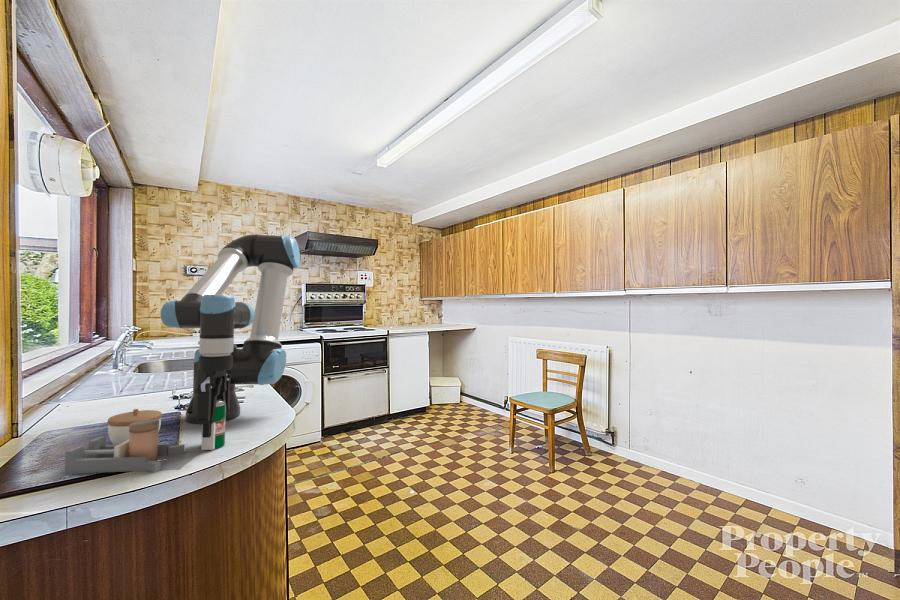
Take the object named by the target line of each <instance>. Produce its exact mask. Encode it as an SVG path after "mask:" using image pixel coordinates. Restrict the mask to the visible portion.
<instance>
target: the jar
mask: <svg viewBox="0 0 900 600" xmlns="http://www.w3.org/2000/svg"><path fill="white" fill-rule="evenodd" d="M158 429H159V420H157V419H148V420H140V421H136V422H133V423H131V424H129V457H145V456H148V460H152V461H157V457H158V443H159V432H158ZM159 430H160V429H159Z"/></svg>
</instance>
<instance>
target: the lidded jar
mask: <svg viewBox="0 0 900 600" xmlns="http://www.w3.org/2000/svg"><path fill="white" fill-rule="evenodd" d="M162 415H163V413H162V411H160V410H155V409H154V410H151V409H150V410H148V409H143V410H139V409H138V408H134V409H133V411H127V412H124V413H119V414H115V415H113V416H111V417H109V418H108V419H107V434H108V437H109V441H110V442H111V443H112V445H115V444H121V443H123V442H125V441H127V440H129V424H131V423H133V422H136V421H140V420H148V419H157V420H159V429H158V433H159V432H160V429H161V425H162Z"/></svg>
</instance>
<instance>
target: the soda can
mask: <svg viewBox="0 0 900 600" xmlns="http://www.w3.org/2000/svg"><path fill="white" fill-rule="evenodd" d="M224 401H225V400H223V399H217V401H216V408H215V415H214V422H215V449H214V450H218V449H220V448H222V447H224V446H225V445H226V421H227V420H226V403H225V402H224ZM214 422H213V423H214Z"/></svg>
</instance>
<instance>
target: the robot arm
mask: <svg viewBox="0 0 900 600" xmlns="http://www.w3.org/2000/svg"><path fill="white" fill-rule="evenodd" d="M300 253H301V252H300V247H299V245H298V241H297V240H296V238H295V237H293V236H291V235H290V236H288V235H272V234H271V235H269V234H266V235H265V234H253V233H252V234H246V235H244V236H240V237H238V238H235V239H234V240H232V241H231V242H230V241H229V243H227V244H226V245H224V246H223V248H221V249H220V251H219V252H218V254H217V259H216V260H215V262H213V263H212V265H210V267H209V268H208V269H207V270H206V271H205V272H204V274H203V275H202V276H201V277H200V278H199V279H198V280H197V281H196V283H195V284H193V286H192V287H191V288H190V289H189V291H188V292H187V293H185V295H184V296H183V297H182V298H181V299H180V300H177V299H176V300H175V299H174V300H169V301H166V302H165V303H164V304H163V305H162V307H161V309H160V320H161V322H162V323H163V325H164V326H166V327H168V328H176V329H177V328H178V329H199V341H198V342H197V344H198V345H199V348H198V349H196V350H195V352H194V357H193V379H192V380H193V382H192V383H193V384H192V386H193V389H192V397H191V398H190V401H189V404H188V406H187V408H186V411H185V416H184V417H185V420H184V421H185V422H187V423H191V424H197V425H201V447H200V448H201V449H200V450H201V451H212V450H216V449H215V422H214V415H215V408H216V401H217V399H223V400H225V401H224V402H225V403H226V421H228V420H231V419H235V418H238V417H239V416H240V415H241V404H240V401H239V400H238V396H237V394H236V385H259V386H263V385H274V384H276V383H277V382H279V381H280V379H281V378H282V376H283V374H284V371H285V369H286V364H287V352H286V350H285V349H284V348H282V347H283V345H282V343H281V342H280V340H279V335H280V329H281V322H282V315H283V309H284V302H285V296H286V295H285V294H286V291H287V290H286V289H287V283H288V278H289V277H290V276H292V275H293V273H294V269H297V268H299V267H300V265H301V254H300ZM249 267H250V268H251V267H256V268H257V270H258V271H259V272H260V273H261V274H260V275H261V276H260V280H259V287H258V291H257V297H256V302H255V308H253V306H252V305H250V304H249V303H246V302H243V301H236V299H235V296H233V295H231V294H224V292H225V291H226V290H227V289H228V287H229V285H231V283H232V282H233V281H234V280H235V278H236V277H237V275H238V274H239V273H241V272H244V271H245V270H246V269H247V268H249ZM250 325H251V329H250V330H251V331H250V336H249V338H247V339H245V340H244V341H243V346H242V348H238V346H237V344H236V343H234V341H235V340H234V339H235V338H234V336H235V335H234V333H235V329H237V330H238V329H239V330H241V329H243V328H247V327H249V326H250ZM213 422H214V423H213Z"/></svg>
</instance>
